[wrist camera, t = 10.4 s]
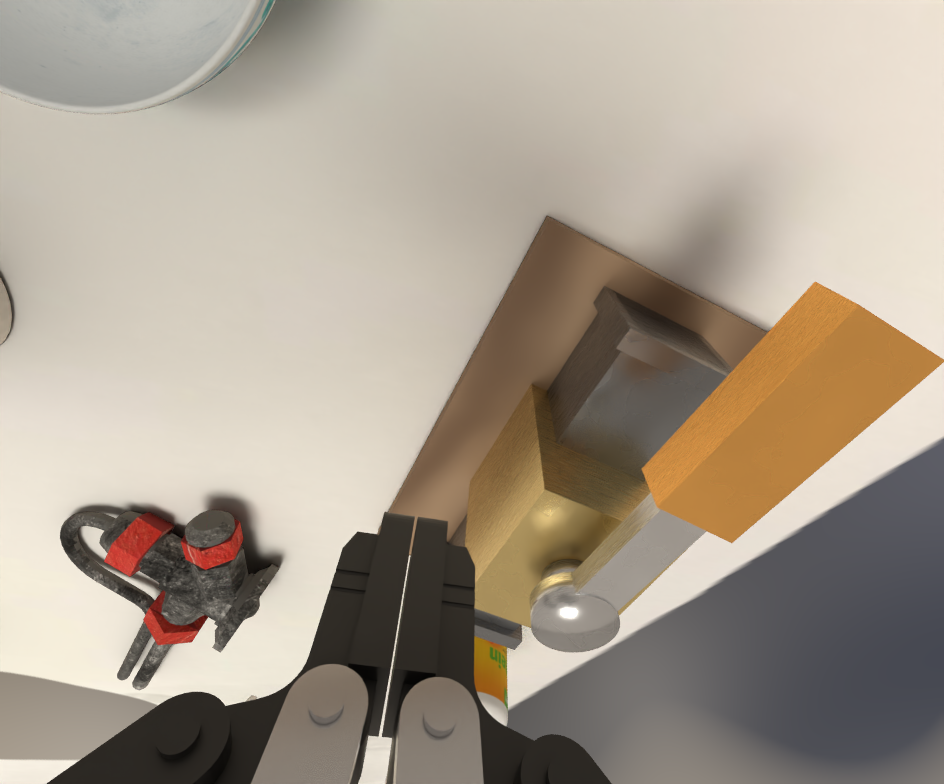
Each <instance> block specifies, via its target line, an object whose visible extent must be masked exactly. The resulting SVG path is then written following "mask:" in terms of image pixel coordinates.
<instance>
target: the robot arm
mask: <svg viewBox="0 0 944 784" xmlns="http://www.w3.org/2000/svg"><path fill="white" fill-rule="evenodd" d="M11 320H12V312H11V305H10V300H9V297H8V294H7V291H6V289H5V286H4V283H3V282H2V280H1V278H0V345H1V344H2V343H3V342H4V341H5V339H6V337H7V335H8V333H9V331H10V328H11ZM414 520H415V516H410V515H403V514H396V513H389V512H385V513H384V516H383V520H382V524H381V529H380V533H379V535H377V534H370V533H363V532H357V533H356V534H355V535H354V536H353V537H352V538H351V540H350V541H349V542H348V543H347V544H346V545H345V546H344V547H343V549H342V552H341V556H340V559H339V562H338V565H337V568H336V573H335V575H334V578H333V581H332V584H331V589H330V591H329V594H328V597H327V600H326V603H325V606H324V610H323V613H322V616H321V619H320V622H319V626H318V629H317V632H316V635H315V638H314V641H313V645H312V648H311V651H310V654H309V657H308V659H307V662H306V664H305V666H304V667H303V669H302V670H301V672H300V673H299V674H298V676H297V677H296V678H295V679H294V680H293V681H292V682H291V683H289V684H288V685H287V686H286V687H284V688H283V689H281V690H279V691H278V692H276V693H274V694H271V695H269V696H266V697H263V698H259V699H255V700H250V701H246V702H242V703H237V704H233V705H228V706H225V705H224V703H223V702H222V701H221V700H220V699H219V698H217V697H216V696H214V695H211V694H209V693H204V692H189V693H184V694H180V695H177V696H175V697H172V698H170V699H168V700H166V701H165V702H163V703H161V704H160V705H158V706H157V707H155V708H154V709H152V710H151V711H150V712H148V713H147V714H145V715H144V716H143V717H141V718H140V719H138V720H137V721H135V722H134V723H132V724H131V725H130V726H128V727H127V728H125V729H124V730H123V731H121V732H120V733H118V734H117V735H115V736H114V737H112V738H111V739H110V740H108V741H107V742H105V743H104V744H103V745H101V746H100V747H98V748H97V749H96V750H94V751H92V752H91V753H90V754H88V755H87V756H85V757H84V758H82V759H81V760H80V761H78V762H77V763H75V764H74V765H72V766H71V767H70V768H68V769H67V770H65V771H64V772H62V773H61V774H60V775H58V776H57V777H55V778H54V779H52V780H51V781H50V782H48V783H47V784H358V782H359V779H360V777H361V773H362V768H363V763H364V757H365V752H366V746H367V740H368V735H369V736H379V731H380V725H381V719H382V714H383V708H384V703H385V697H386V691H387V686H388V680H389V675H390V669H391V663H392V657H393V650H394V644H395V638H396V632H397V626H398V619H399V613H400V607H401V601H402V594H403V588H404V582H405V576H406V570H407V563H408V557H409V551H410V545H411V539H412V532H413V526H414ZM447 529H448V521H444V520H438V519H431V518H424V517H418V518H417V523H416V529H415V534H414V540H413V546H412V551H411V557H410V563H409V568H408V574H407V580H406V587H405V593H404V599H403V606H402V612H401V618H400V625H399V631H398V638H397V644H396V650H395V657H394V663H393V669H392V676H391V682H390V688H389V695H388V701H387V707H386V714H385V720H384V727H383V733H382V737H389V738H392V744H391V751H390V758H389V765H388V772H387V777H386V781H385V784H611V783H610V781H609V780H608V779H607V777H606V776H605V775H604V773H603V772H602V771H601V769H600V768H599V767H598V766H597V764H596V763H595V762H594V760H593V759H592V758H591V756H590V755H589V754H588V753H587V752H586V751H585V750H584V749H583V748H582V747H581V746H580V745H579V744H578V743H576V742H575V741H573V740H571V739H569V738H567V737H565V736H561V735H553V734H551V735H545V736H542V737H540V738H538V739H537V740H535V741H533V740H531V739H529V738H527V737H525V736H523V735H522V734H520V733H518V732H516V731H514V730H512V729H510V728H508V727H506V726H504V725H503V724H501V723H499V722H498V721H497V720H496V719H494V718H493V717H492V716H491V715H490V714H489V713H488V711H487V710H486V709H485V707H484V706H483V705H482V703H481V701H480V699H479V697H478V694H477V691H476V687H475V682H474V635H475V610H474V607H475V565H474V563H473V560H472V558H471V556H470V554H469V551H468V549H467V547H462V546H455V545H448V544H446V542H447Z"/></svg>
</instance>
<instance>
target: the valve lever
mask: <svg viewBox="0 0 944 784" xmlns="http://www.w3.org/2000/svg"><path fill="white" fill-rule="evenodd" d="M943 362H944V360H943V359H942V358H940V357H939V356H937V355H936V354H934V353H933V352H931V351H929V350H928V349H926V348H925V347H923V346H922V345H920V344H919V343H917V342H916V341H914V340H912V339H911V338H909V337H908V336H906V335H905V334H903V333H902V332H900V331H899V330H897V329H895V328H894V327H892V326H891V325H889V324H888V323H886V322H885V321H883V320H882V319H880V318H878V317H877V316H875V315H874V314H872V313H871V312H869V311H868V310H866V309H865V308H863V307H861V306H860V305H858V304H856V303H854V302H852V301H851V300H849V299H847V298H845V297H843V296H841V295H839V294H837V293H836V292H834V291H832V290H830V289H828V288H826V287H824V286H822V285H821V284H819V283H817V282H814V283H813V285H812V286H811V287H810V288H809V289H808V290H807V291H806V292H805V293H804V294H803V295H802V296H801V297H800V299H799V300H798V301H797V302H796V303H795V304H794V305H793V306H792V307H791V308H790V309H789V310H788V311H787V313H786V314H785V315H784V316H783V317H782V318H781V319H780V320H779V321H778V322H777V323H776V324H775V326H774V327H773V328H772V329H771V330H770V331H769V332H768V333H767V334H766V335H765V336H764V337H763V338H762V340H761V341H760V342H759V343H758V344H757V345H756V346H755V347H754V348H753V349H752V350H751V351H750V352H749V354H748V355H747V356H746V357H745V358H744V359H743V360H742V361H741V362H740V363H739V364H738V365H737V367H736V368H735V369H734V370H733V371H732V372H731V373H730V374H729V375H728V376H727V377H726V378H725V379H724V381H723V382H722V383H721V384H720V385H719V386H718V387H717V388H716V389H715V390H714V391H713V392H712V393H711V395H710V396H709V397H708V398H707V399H706V400H705V401H704V402H703V403H702V404H701V405H700V406H699V408H698V409H697V410H696V411H695V412H694V413H693V414H692V415H691V416H690V417H689V418H688V419H687V420H686V422H685V423H684V424H683V425H682V426H681V427H680V428H679V429H678V430H677V431H676V432H675V433H674V434H673V436H672V437H671V438H670V439H669V440H668V441H667V442H666V443H665V444H664V445H663V446H662V447H661V449H660V450H659V451H658V452H657V453H656V454H655V455H654V456H653V457H652V458H651V459H650V460H649V461H648V463H647V464H646V465H645V466H644V467H643V468H642V472H643V474H644V477H645V479H646V481H647V484H648V486H649V489H650V491H651V493H650V494H649V495H648V496H647V497H646V498H645V499H644V500H643V501H642V502H641V503H640V504H639V505H638V506H637V507H636V508H635V509H634V510H633V511H632V512H631V513H630V514H629V515H628V517H627V518H626V519H625V520H624V521H623V522H622V523H621V524H620V525H619V526H618V527H617V528H616V529H615V530H614V531H613V532H612V533H611V534H610V535H609V536H608V537H607V538H606V539H605V540H604V541H603V542H602V543H601V544H600V545H599V546H598V547H597V548H596V549H595V550H594V552H593V553H592V554H591V555H590V556H589V557H588V558H587V559H586V560H585V561H584V562H583V563H582V564H581V565H580V566H579V567H578V568H577V569H576V570H575V571H574V572H564V573H559V574H555V575H552V576H550V577H547V578H545V579H544V580H542V581H541V582H539V583H538V584H537V585H536V586H535V587H534V588H533V590H532V592H531V594H530V599H529V602H530V617H531V629H532V633H533V635H534V636H535V638H536V639H537V640H538V641H539V642H541V643H542V644H543V645H545V646H547V647H549V648H552V649H555V650H558V651H563V652H584V651H590V650H593V649H596V648H599V647H601V646H603V645H605V644H607V643H608V642H610V641H611V640H612V639H613V638H614V637H615V636H616V634H617V633H618V631H619V628H620V619H619V615H618V611H619V610H620V609H621V608H622V607H623V606H624V605H625V604H626V603H627V602H629V601H630V600H631V599H632V598H633V597H634V596H635V595H636V594H637V593H639V592H640V591H641V590H642V589H643V588H644V587H645V586H646V585H647V584H649V583H650V582H651V581H652V580H653V579H654V578H655V577H656V576H657V575H659V574H660V573H661V572H662V571H663V570H664V569H665V568H666V567H667V566H669V565H670V564H671V563H672V562H673V561H674V560H675V559H676V558H677V557H679V556H680V555H681V554H682V553H683V552H684V551H685V550H686V549H687V548H689V547H690V546H691V545H692V544H693V543H694V542H695V541H696V540H697V539H699V538H700V537H701V536H702V535H703V534H704V533H705V532H706V531H708V532H710V533H712V534H714V535H716V536H718V537H720V538H722V539H724V540H726V541H729V542H731V543H733V542H734V541H735V540H736V539H737V538H738V537H740V536H741V535H742V534H743V533H744V532H745V531H747V530H748V529H749V528H750V527H751V526H752V525H754V524H755V523H756V522H757V521H758V520H759V519H761V518H762V517H763V516H764V515H765V514H767V513H768V512H769V511H770V510H771V509H772V508H774V507H775V506H776V505H777V504H778V503H779V502H781V501H782V500H783V499H784V498H785V497H786V496H788V495H789V494H790V493H791V492H792V491H793V490H795V489H796V488H797V487H798V486H799V485H800V484H802V483H803V482H804V481H805V480H806V479H807V478H809V477H810V476H811V475H812V474H813V473H814V472H816V471H817V470H818V469H819V468H820V467H822V466H823V465H824V464H825V463H826V462H827V461H829V460H830V459H831V458H832V457H833V456H834V455H836V454H837V453H838V452H839V451H840V450H841V449H843V448H844V447H845V446H846V445H847V444H848V443H850V442H851V441H852V440H853V439H854V438H855V437H857V436H858V435H859V434H860V433H861V432H862V431H864V430H865V429H866V428H867V427H868V426H870V425H871V424H872V423H873V422H874V421H875V420H877V419H878V418H879V417H880V416H881V415H882V414H884V413H885V412H886V411H887V410H888V409H889V408H891V407H892V406H893V405H894V404H895V403H896V402H898V401H899V400H900V399H901V398H902V397H903V396H905V395H906V394H907V393H908V392H909V391H910V390H912V389H913V388H914V387H915V386H916V385H918V384H919V383H920V382H921V381H922V380H923V379H925V378H926V377H927V376H928V375H929V374H930V373H932V372H933V371H934V370H935V369H936V368H937V367H939V366H940V365H941V364H942V363H943Z"/></svg>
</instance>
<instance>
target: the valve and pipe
mask: <svg viewBox="0 0 944 784" xmlns="http://www.w3.org/2000/svg"><path fill="white" fill-rule="evenodd" d="M593 304H594V306H595V308H596V309H597V311H598V313H597V315H596V316H595V318H594V319H593V321H592V323H591V324H590V326H589V327H588V329H587V330H586V332H585V333H584V335H583V336H582V338H581V339H580V341H579V342H578V344H577V346H576V347H575V349H574V350H573V352H572V353H571V355H570V356H569V358H568V359H567V361H566V362H565V364H564V365H563V367H562V369H561V370H560V372H559V373H558V375H557V376H556V378H555V379H554V381H553V382H552V384H551V385H550V387H549V388H548V390H544V389H542V388H540V387H538V386H536V385H533V384H531V385H530V387H529V388H528V390H527V391H526V393H525V395H524V396H523V398H522V399H521V401H520V403H519V404H518V406H517V407H516V409H515V411H514V412H513V414H512V415H511V417H510V418H509V420H508V422H507V423H506V425H505V426H504V428H503V430H502V431H501V433H500V434H499V436H498V438H497V439H496V441H495V442H494V444H493V446H492V447H491V449H490V450H489V452H488V454H487V455H486V457H485V458H484V460H483V461H482V463H481V465H480V466H479V468H478V469H477V471H476V473H475V474H474V476H473V477H472V479H471V481H470V483H469V497H468V510H467V514H466V516H465V517H464V519H463V520H462V522H461V523H460V525H459V526H458V528H457V529H456V531H455V533H454V534H453V536H452V537H451V539H450V540H449V542H446V544H448V545H455V546H462V547H467V549H468V551H469V554H470V556H471V558H472V560H473V563H474V565H475V607H474V610H475V635H474V636H476V637H478V638H481V639H484V640H487V641H490V642H493V643H496V644H499V645H502V646H505V647H508V648H511V649H514V650H515V649H516V647H517V646H518V645H519V644H520V643H521V642H522V627H521V625H524V626H527V627H530V628H531V617H530V602H529V599H530V594H531V592H532V590H533V588H534V587H535V586H536V585H537V584H538V583H539V582H541V581H542V580H544V579H545V578H547V577H550V576H552V575H555V574H559V573H564V572H574V571H575V570H576V569H577V568H578V567H579V566H580V565H581V564H582V563H583V562H584V561H585V560H586V559H587V558H588V557H589V556H590V555H591V554H592V553H593V552H594V550H595V549H596V548H597V547H598V546H599V545H600V544H601V543H602V542H603V541H604V540H605V539H606V538H607V537H608V536H609V535H610V534H611V533H612V532H613V531H614V530H615V529H616V528H617V527H618V526H619V525H620V524H621V523H622V522H623V521H624V520H625V519H626V518H627V517H628V515H629V514H630V513H631V512H632V511H633V510H634V509H635V508H636V507H637V506H638V505H639V504H640V503H641V502H642V501H643V500H644V499H645V498H646V497H647V496H648V495H649V494H650V493H651V491H650V489H649V486H648V484H647V481H646V479H645V477H644V474H643V472H642V468H643V467H644V466H645V465H646V464H647V463H648V461H649V460H650V459H651V458H652V457H653V456H654V455H655V454H656V453H657V452H658V451H659V450H660V449H661V447H662V446H663V445H664V444H665V443H666V442H667V441H668V440H669V439H670V438H671V437H672V436H673V434H674V433H675V432H676V431H677V430H678V429H679V428H680V427H681V426H682V425H683V424H684V423H685V422H686V420H687V419H688V418H689V417H690V416H691V415H692V414H693V413H694V412H695V411H696V410H697V409H698V408H699V406H700V405H701V404H702V403H703V402H704V401H705V400H706V399H707V398H708V397H709V396H710V395H711V393H712V392H713V391H714V390H715V389H716V388H717V387H718V386H719V385H720V384H721V383H722V382H723V381H724V379H725V378H726V377H727V376H728V375H729V374H730V373H731V372H732V371H733V369H732V367H731V366H730V365H729V364H728V363H727V362H726V361H725V360H724V359H723V358H722V357H721V355H720V354H719V353H718V352H717V351H716V350H715V349H714V348H713V347H712V346H711V345H710V343H709V342H708V341H707V340H706V339H705V338H704V337H703V336H702V335H700V334H698V333H696V332H694V331H692V330H690V329H688V328H686V327H684V326H682V325H680V324H678V323H676V322H674V321H672V320H670V319H668V318H667V317H665V316H663V315H661V314H659V313H657V312H655V311H653V310H651V309H649V308H647V307H645V306H643V305H641V304H639V303H637V302H635V301H633V300H631V299H629V298H627V297H625V296H623V295H622V294H620V293H618V292H616V291H614V290H612V289H610V288H608V287H606V286H604V287H603V288H602V290H601V291H600V293H599V295H598V296H597V298H596V299H595V301H594V302H593ZM687 549H688V548H687ZM687 549H686V550H687ZM686 550H685V551H686ZM685 551H684V552H685ZM684 552H683V553H684ZM683 553H682V554H683ZM682 554H681V555H682ZM681 555H680V556H681ZM680 556H679V557H680ZM679 557H677V558H676V559H675V560H674V561H676V560H677V559H678V558H679ZM674 561H673V562H674ZM673 562H672V563H673ZM672 563H671V564H672ZM671 564H670V565H671ZM670 565H669V566H670ZM669 566H667V567H666V568H665V569H664V570H663V571H662V572H661V573H660V574H659V575H657V576H656V577H655V578H654V579H653V580H652V581H651V582H650V583H649V584H647V585H646V586H645V587H644V588H643V589H642V590H641V591H640V592H639V593H637V594H636V595H635V596H634V597H633V598H632V599H631V600H630V601H629V602H627V603H626V604H625V605H624V606H623V607H622V608H621V609H620V610H619V611H618V615H620V614H621V613H622V612H623V611H624V610H625V609H626V608H627V607H628V606H629V605H630V604H631V603H632V602H633V601H634V600H635V599H637V598H638V597H639V596H640V595H641V594H642V593H643V592H644V591H645V590H646V589H647V588H648V587H649V586H650V585H651V584H652V583H653V582H654V581H655V580H656V579H657V578H658V577H659V576H660V575H661V574H662V573H663V572H664V571H665V570H666V569H667V568H668V567H669Z"/></svg>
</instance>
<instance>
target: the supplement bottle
mask: <svg viewBox="0 0 944 784" xmlns="http://www.w3.org/2000/svg"><path fill="white" fill-rule="evenodd" d="M474 682H475V687H476V691H477V694H478V697H479V699H480V701H481V703H482V705H483V706H484V707H485V709H486V710H487V711H488V713H489V714H490V715H491V716H492V717H493V718H494V719H496V720H497V721H498V722H499V723H501V724H503V725H504V726H506V725H507V721H508V702H507V647H505V646H502V645H499V644H496V643H493V642H490V641H487V640H484V639H481V638H478V637H476V636H474Z"/></svg>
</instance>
